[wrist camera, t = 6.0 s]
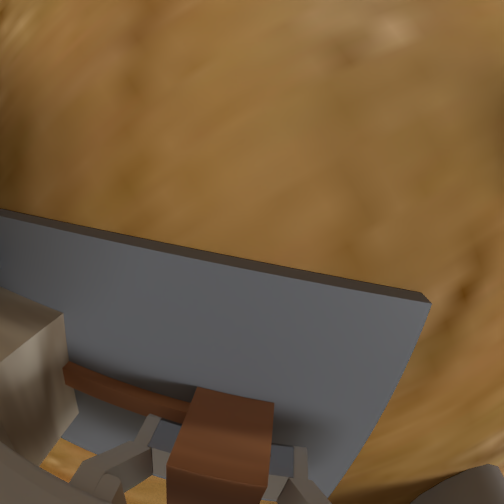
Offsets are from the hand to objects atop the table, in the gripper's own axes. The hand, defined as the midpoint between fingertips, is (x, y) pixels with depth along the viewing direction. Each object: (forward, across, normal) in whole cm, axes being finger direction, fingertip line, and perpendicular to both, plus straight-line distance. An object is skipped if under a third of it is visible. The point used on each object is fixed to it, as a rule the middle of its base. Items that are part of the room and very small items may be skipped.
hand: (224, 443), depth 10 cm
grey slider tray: (+2, +10, 0) cm, 10 cm away
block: (+1, +6, 0) cm, 6 cm away
